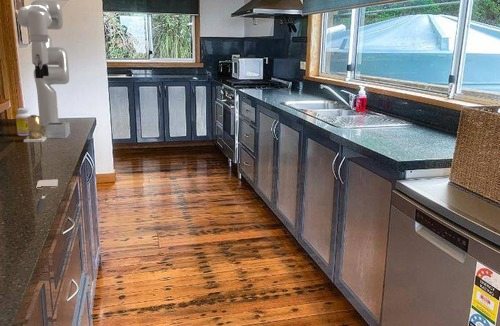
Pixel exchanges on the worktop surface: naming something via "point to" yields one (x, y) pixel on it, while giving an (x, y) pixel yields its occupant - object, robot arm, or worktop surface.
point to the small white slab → (41, 202)
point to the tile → (35, 139)
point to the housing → (55, 129)
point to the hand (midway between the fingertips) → (42, 77)
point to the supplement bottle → (22, 122)
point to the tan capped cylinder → (34, 127)
